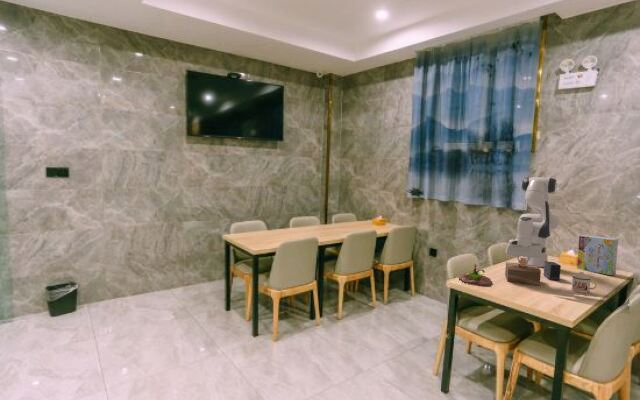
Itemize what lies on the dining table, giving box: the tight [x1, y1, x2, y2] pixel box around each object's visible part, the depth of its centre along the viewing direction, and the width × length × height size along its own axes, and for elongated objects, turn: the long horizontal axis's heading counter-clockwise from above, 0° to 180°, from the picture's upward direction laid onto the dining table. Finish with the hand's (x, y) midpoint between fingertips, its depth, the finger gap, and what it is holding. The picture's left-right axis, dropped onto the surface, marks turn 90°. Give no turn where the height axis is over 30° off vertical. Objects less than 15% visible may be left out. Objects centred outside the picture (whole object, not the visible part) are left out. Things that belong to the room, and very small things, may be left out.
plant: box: [457, 264, 493, 287], centre depth 228 cm, size 20×20×11 cm
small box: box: [543, 260, 562, 281], centre depth 240 cm, size 11×6×10 cm, turn 169°
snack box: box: [576, 234, 619, 276], centre depth 260 cm, size 22×9×26 cm, turn 34°
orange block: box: [519, 256, 526, 267], centre depth 231 cm, size 5×2×5 cm, turn 158°
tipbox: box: [504, 261, 542, 287], centre depth 232 cm, size 14×18×10 cm
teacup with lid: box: [571, 271, 598, 294], centre depth 212 cm, size 12×9×12 cm
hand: (522, 263), depth 231 cm, fingers closed on orange block, 2 cm apart
